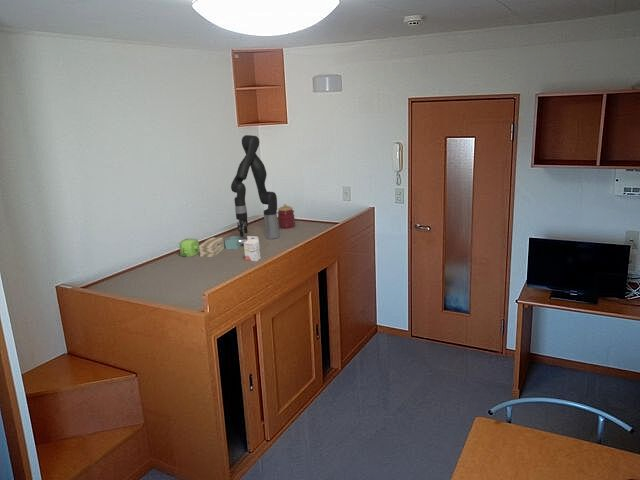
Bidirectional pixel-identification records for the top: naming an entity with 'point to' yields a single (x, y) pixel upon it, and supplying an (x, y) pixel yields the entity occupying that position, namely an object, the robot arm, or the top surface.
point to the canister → (286, 217)
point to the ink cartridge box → (252, 249)
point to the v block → (233, 243)
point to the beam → (211, 247)
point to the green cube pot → (189, 247)
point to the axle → (241, 241)
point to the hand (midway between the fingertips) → (244, 234)
